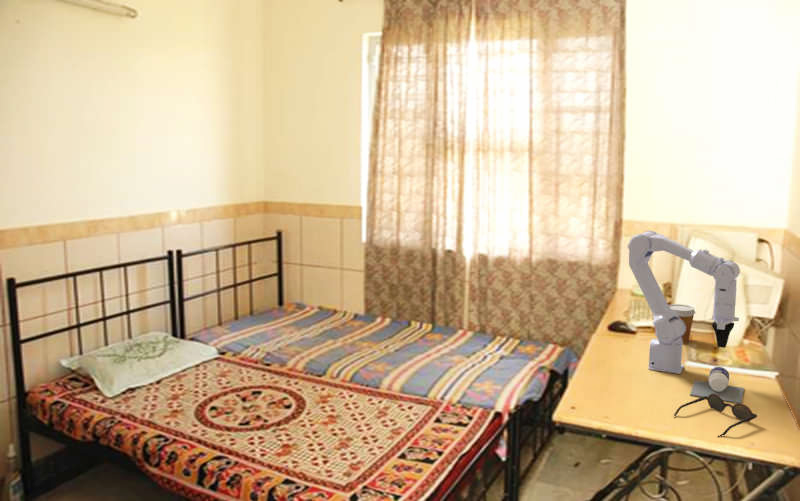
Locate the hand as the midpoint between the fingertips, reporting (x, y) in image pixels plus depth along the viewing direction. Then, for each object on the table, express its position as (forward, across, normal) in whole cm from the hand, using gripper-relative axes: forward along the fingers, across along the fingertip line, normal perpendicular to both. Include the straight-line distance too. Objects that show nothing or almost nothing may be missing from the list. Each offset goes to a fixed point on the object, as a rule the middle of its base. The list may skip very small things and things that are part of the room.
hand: (721, 346), depth 197 cm
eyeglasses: (+11, -32, -1) cm, 34 cm away
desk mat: (+10, -11, 0) cm, 15 cm away
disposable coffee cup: (+10, +35, +17) cm, 40 cm away
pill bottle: (+7, -4, 0) cm, 8 cm away
